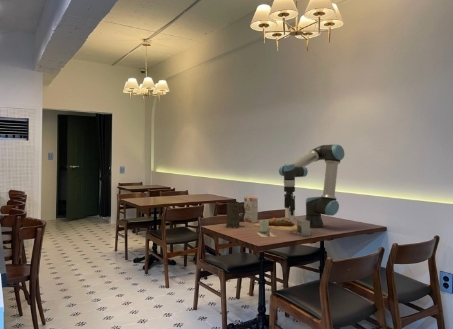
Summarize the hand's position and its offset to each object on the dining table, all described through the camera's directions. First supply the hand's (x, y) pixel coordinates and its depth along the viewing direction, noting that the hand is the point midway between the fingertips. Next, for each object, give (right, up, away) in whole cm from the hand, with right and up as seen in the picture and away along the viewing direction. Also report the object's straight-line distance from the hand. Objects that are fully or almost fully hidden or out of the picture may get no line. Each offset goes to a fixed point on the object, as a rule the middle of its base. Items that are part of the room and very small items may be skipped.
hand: (289, 219), depth 252 cm
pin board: (-17, -11, -3) cm, 21 cm away
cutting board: (-4, -12, +30) cm, 32 cm away
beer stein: (-37, -11, +33) cm, 51 cm away
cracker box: (-23, -11, +55) cm, 61 cm away
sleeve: (0, 0, 0) cm, 0 cm away
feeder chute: (+10, -11, +2) cm, 15 cm away
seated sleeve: (-18, -10, +1) cm, 20 cm away
